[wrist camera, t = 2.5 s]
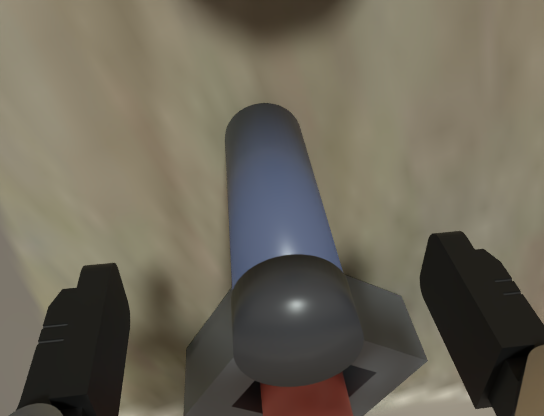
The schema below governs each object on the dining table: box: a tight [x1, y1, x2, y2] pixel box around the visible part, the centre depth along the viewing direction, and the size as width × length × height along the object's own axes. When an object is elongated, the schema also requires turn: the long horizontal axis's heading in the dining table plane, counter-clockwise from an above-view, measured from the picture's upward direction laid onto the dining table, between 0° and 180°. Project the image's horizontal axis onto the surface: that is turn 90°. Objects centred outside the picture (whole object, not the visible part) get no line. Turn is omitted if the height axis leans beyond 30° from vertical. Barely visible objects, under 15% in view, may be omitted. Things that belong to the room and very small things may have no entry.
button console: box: [183, 275, 428, 416], centre depth 25 cm, size 8×8×4 cm
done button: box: [260, 371, 353, 416], centre depth 23 cm, size 4×4×3 cm
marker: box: [225, 103, 364, 387], centre depth 16 cm, size 3×3×10 cm
